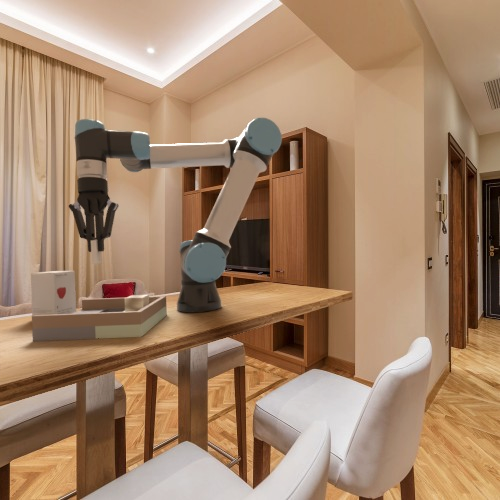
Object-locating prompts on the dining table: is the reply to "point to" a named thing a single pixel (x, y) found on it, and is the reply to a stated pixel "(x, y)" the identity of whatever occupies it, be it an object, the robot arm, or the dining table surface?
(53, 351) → the dining table surface
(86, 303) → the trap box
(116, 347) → the dining table surface
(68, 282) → the supplement box
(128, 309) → the cream block
